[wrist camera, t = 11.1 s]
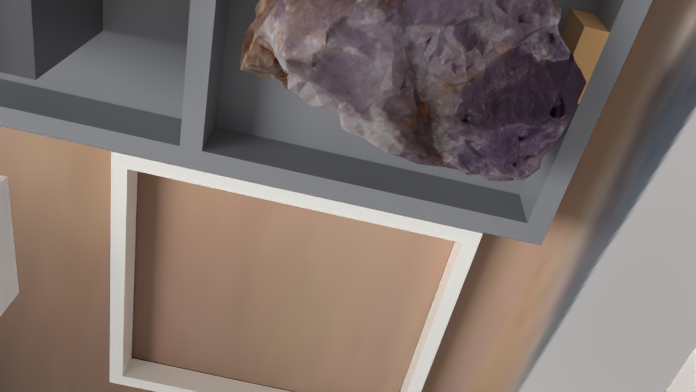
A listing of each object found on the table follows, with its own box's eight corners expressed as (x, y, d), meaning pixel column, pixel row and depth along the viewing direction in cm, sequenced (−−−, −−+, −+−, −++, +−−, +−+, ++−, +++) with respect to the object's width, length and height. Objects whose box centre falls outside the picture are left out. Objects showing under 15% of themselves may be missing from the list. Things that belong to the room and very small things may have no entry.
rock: (470, 136, 31) (583, -68, 26) (517, 253, 24) (685, 7, 19) (234, 63, 28) (306, -184, 23) (211, 172, 21) (306, -146, 16)
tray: (118, 364, 41) (109, 382, 40) (123, 137, 32) (111, 151, 31) (401, 423, 42) (401, 442, 40) (480, 217, 33) (482, 233, 32)
